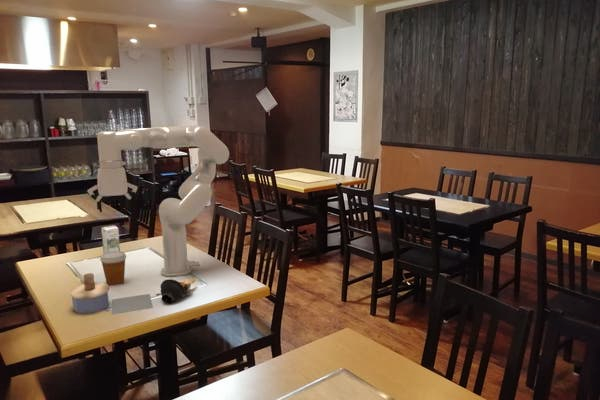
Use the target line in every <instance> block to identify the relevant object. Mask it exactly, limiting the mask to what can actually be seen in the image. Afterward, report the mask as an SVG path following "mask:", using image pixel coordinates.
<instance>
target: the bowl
mask: <svg viewBox="0 0 600 400" xmlns="http://www.w3.org/2000/svg"><path fill="white" fill-rule="evenodd" d="M71 299H72V300H71V301H72V309H73V311H74V312H76V313H78V314H92V313H97V312H100V311H103V310H104V309H107V307H108V306H109V291H108V292H107V293H105V294H103V295H100V296H97V297H93V298H87V299H77V298H73V297H72V296H71Z"/></svg>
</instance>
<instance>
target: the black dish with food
mask: <svg viewBox="0 0 600 400" xmlns="http://www.w3.org/2000/svg"><path fill="white" fill-rule="evenodd" d="M196 281H197V278H196V277H193V278H192V279H190V280H189V281H187V282H186V281H185V280H183V281H177V280H175V279H164V280H163V281H162V282H161V284H160V295H161V301H162V302H163V303H164V304H172V303H174V302H177V301H178V300H180V299H183V298H184V297H185V296H187V295H189V294H190V293H189V291H190V289H191V286H192V284H194V283H195V282H196ZM169 298H171V302H169V301H167V300H168V299H169Z"/></svg>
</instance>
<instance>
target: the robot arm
mask: <svg viewBox="0 0 600 400" xmlns="http://www.w3.org/2000/svg"><path fill="white" fill-rule="evenodd" d="M96 138H97V150H98V151H97V152H98V160H99V161H98V162H99V168H98V169H97V176H96V177H97V178H96V179H97V184H95V185H93V186H92V187H90V188H89V189H87V191H86V192H87V193H88V195H89V196H90V198H91V199H93V200H94V201H95V202H96V206H97V207H96V208H97V211H98V210H99V213H102V212H103V209H102V208H103V207H102V200H101V199H103V197H113V196H114V197H115V196H125V197H126V208H127V210H128V211H130V208H132V200H131V199H132V198H133V197H134V196H135V195H136V193H137V190H138V188H139V187H138V186H137V185H134V184H132V183H129V182H128V180H127V174H126V169H125V167H123V166H126V165H127V161H124V160H122V153H121V151H137V150H139V149H141V148H154V149H173V148H174V149H175V148H186V147H197V159H198V163H197V164H198V165H197V167H196V168H195V170H193V172H192V173H191V175H190V176H188V178H186V180H185V181H184V182H182V183H181V186H179V189H178V196H179V197H180V199H178V198H175V197H168V198H165V199H163V200H162V201H161V203H160V204H159V207H158V216H159V220H160V224H161V235H162V246H163V247H162V248H163V249H162V251H163V263H164V264H163V265H164V267H162V268H161V270H160V274H161V275H162V276H164V277H169V278H171V277H172V278H173V277H175V278H176V277H182V276H183V277H184V276H186V275H189V274H190V273H191V272H192V270H193V269H192V268H193V267H198V266H200V262H199V261H198V260H197V261H196V260H189V259H188V248H187V247H188V245H187V244H188V243H187V229H186V228H187V227H186V225H188V224H190V223H192V222H193V221H194V219H196V218H197V217H198V215H199V214H201V212H202V211H203V210H204V209H205V208H206V206H207V205H208V204H209V203H210V201H211V200H212V199H211V198H212V194H213V191H212V188H211V187H210V185H211V184H212V182H213V181H214V179H215V177H216V174H217V173H216V171H217V165H222V164H225V163H226V162H227V161H228V160H229V157H230V151H229V148H228V147H227V145H226V144H225V143H224V142H222V140H220V139H219V138H218V137H217V136H216V135H215V134H214V133H213V132H212V131H211V130H210V129H208V128H207V127H205V126H202V125H177V126H176V125H175V126H174V125H173V126H171V125H170V126H157V127H155V126H154V127H145V128H124V129H118V130H117V131H114V130H103V131H99V132H97V136H96ZM128 188H130V189H132V190H131V192H130V193H129V191H128ZM96 190H97V192H98V195H95V193H94V191H96Z"/></svg>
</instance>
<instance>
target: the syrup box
mask: <svg viewBox="0 0 600 400" xmlns="http://www.w3.org/2000/svg"><path fill="white" fill-rule="evenodd" d="M119 232H120V231H119V227H117V226H116V225H108V226H102V227H101V238H102V239H101V241H102V250H103V251H102V252H103V253H102V254H104V253H107V252H113V251H120V250H121V248H120V235H119V234H120V233H119Z"/></svg>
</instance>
